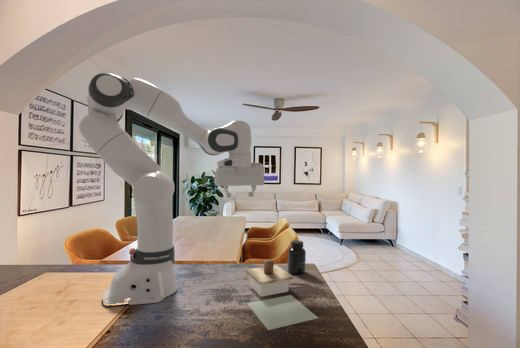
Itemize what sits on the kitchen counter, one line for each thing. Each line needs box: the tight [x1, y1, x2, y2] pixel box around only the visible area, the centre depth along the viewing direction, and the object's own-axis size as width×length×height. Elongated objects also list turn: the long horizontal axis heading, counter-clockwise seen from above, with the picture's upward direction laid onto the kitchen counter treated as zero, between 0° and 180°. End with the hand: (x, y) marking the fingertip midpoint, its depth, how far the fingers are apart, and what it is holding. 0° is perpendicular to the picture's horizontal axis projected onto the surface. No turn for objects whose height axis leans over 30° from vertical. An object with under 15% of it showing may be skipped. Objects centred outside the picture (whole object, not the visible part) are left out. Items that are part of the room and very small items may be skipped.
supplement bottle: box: [287, 240, 307, 276], centre depth 111 cm, size 7×7×12 cm
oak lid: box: [245, 259, 294, 285], centre depth 95 cm, size 12×12×5 cm
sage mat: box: [246, 294, 319, 331], centre depth 80 cm, size 15×15×1 cm
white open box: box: [248, 275, 290, 298], centre depth 95 cm, size 10×10×5 cm
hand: (239, 197), depth 113 cm, fingers open, 8 cm apart
